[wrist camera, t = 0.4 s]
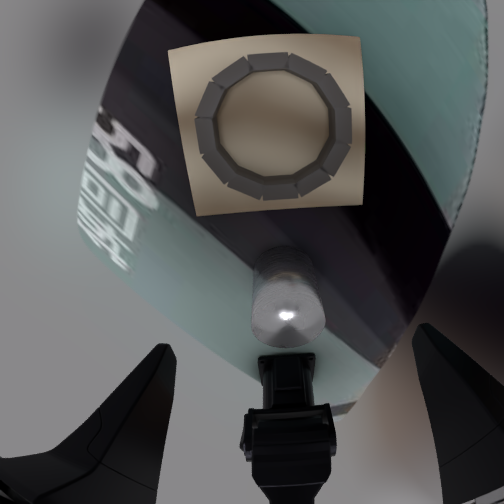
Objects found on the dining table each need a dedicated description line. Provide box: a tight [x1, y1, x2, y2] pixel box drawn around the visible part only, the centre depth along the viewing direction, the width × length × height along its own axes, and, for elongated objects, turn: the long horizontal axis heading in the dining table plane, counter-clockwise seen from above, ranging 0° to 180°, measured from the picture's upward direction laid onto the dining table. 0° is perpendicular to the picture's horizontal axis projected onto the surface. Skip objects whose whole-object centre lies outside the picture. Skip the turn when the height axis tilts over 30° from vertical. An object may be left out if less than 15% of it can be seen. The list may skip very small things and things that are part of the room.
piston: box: [251, 246, 325, 348], centre depth 21 cm, size 5×5×6 cm
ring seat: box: [168, 34, 365, 216], centre depth 16 cm, size 12×12×2 cm
